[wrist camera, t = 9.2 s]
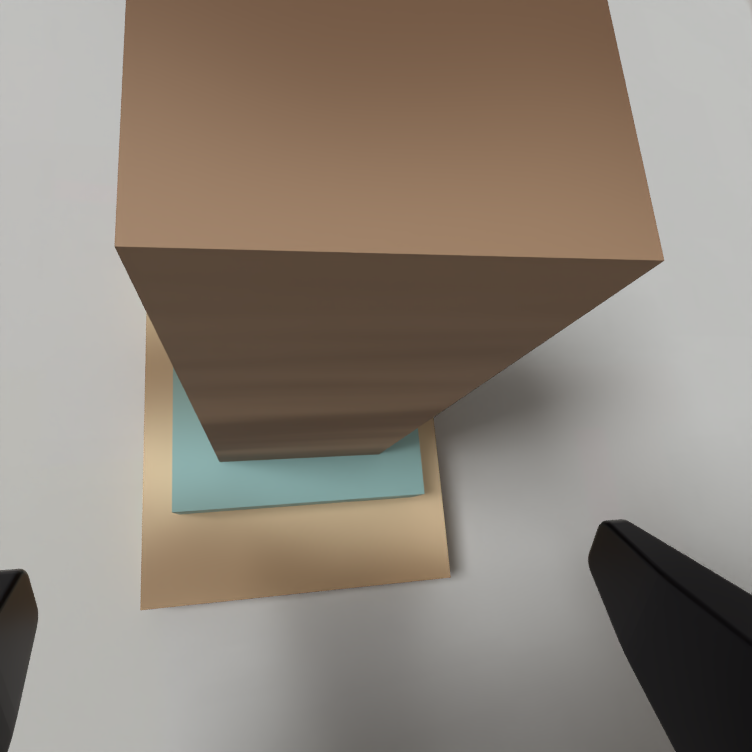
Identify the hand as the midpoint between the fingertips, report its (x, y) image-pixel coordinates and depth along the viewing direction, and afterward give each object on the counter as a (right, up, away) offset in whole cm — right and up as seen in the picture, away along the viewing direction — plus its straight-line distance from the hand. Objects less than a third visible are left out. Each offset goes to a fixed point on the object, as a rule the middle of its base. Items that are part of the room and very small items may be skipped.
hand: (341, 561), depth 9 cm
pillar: (-2, +3, +8) cm, 9 cm away
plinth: (-2, +2, +11) cm, 11 cm away
